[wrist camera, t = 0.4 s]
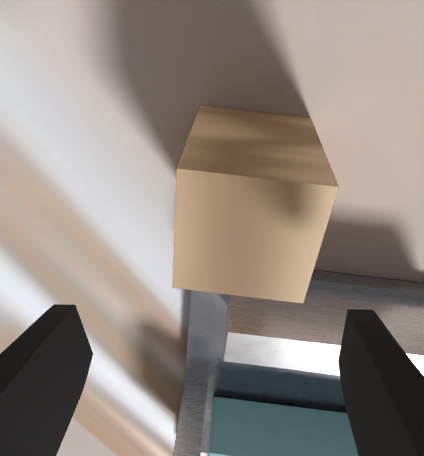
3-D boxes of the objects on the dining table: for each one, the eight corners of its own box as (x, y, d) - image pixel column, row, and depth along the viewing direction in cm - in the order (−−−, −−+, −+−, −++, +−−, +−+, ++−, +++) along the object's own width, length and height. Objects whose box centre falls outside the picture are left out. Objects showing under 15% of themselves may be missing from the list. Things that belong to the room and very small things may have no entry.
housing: (310, 117, 15) (338, 186, 11) (288, 211, 18) (303, 303, 13) (200, 105, 16) (176, 168, 11) (193, 200, 18) (172, 287, 13)
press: (466, 288, 20) (529, 380, 15) (358, 461, 30) (376, 545, 26) (194, 256, 20) (179, 337, 15) (181, 438, 30) (169, 517, 26)
